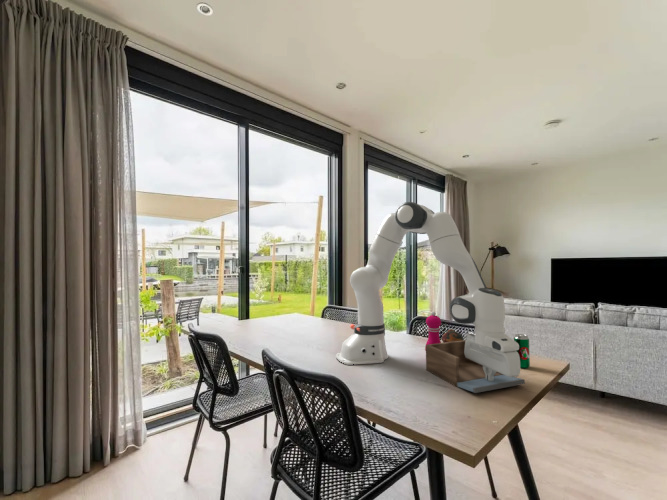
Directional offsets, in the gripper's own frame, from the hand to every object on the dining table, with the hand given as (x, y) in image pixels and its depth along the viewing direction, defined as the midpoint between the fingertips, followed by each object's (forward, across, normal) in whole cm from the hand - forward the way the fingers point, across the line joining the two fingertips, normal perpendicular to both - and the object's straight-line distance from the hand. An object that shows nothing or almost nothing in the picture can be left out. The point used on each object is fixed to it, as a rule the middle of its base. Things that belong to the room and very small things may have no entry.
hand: (489, 380), depth 107 cm
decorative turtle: (+4, -40, +18) cm, 44 cm away
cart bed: (+2, -12, 0) cm, 12 cm away
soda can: (+2, -10, +26) cm, 28 cm away
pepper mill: (+3, -29, 0) cm, 29 cm away
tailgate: (+1, -3, 0) cm, 3 cm away
